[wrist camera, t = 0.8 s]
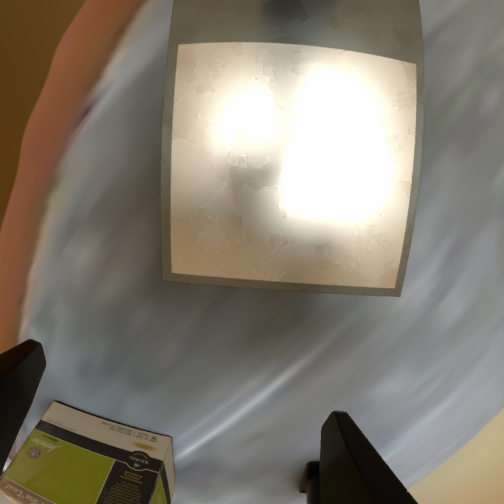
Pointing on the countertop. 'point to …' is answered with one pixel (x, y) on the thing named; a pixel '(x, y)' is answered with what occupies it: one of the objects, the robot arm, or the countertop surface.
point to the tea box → (89, 463)
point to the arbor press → (292, 144)
